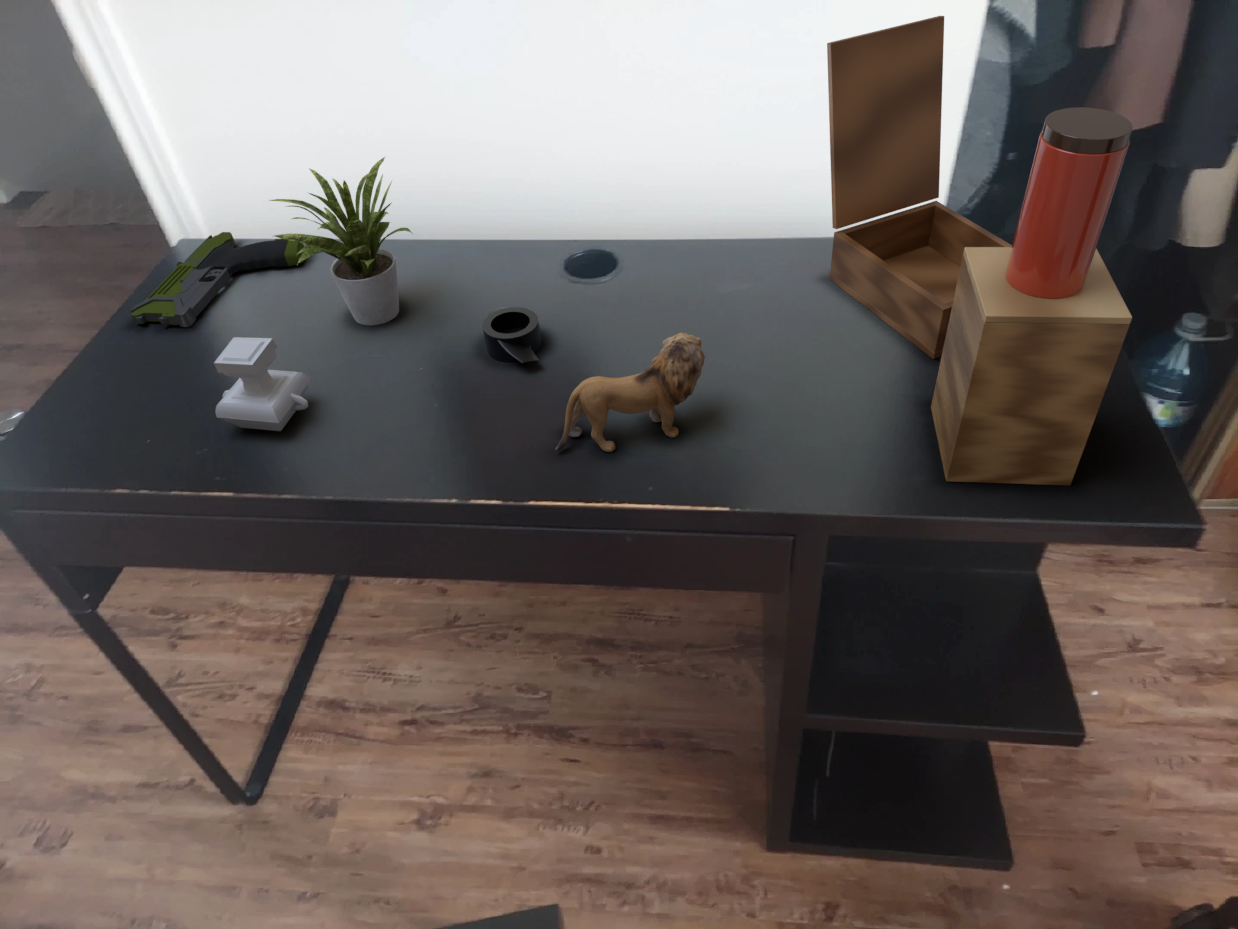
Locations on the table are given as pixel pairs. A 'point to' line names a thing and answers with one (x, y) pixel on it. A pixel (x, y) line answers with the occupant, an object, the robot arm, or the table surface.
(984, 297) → the cork trivet
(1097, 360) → the oak stand
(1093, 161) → the spice jar
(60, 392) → the table surface
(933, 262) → the wooden box
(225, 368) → the stamp
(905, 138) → the box lid
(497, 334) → the duct tape
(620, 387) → the lion figurine
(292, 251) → the gun
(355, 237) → the house plant
